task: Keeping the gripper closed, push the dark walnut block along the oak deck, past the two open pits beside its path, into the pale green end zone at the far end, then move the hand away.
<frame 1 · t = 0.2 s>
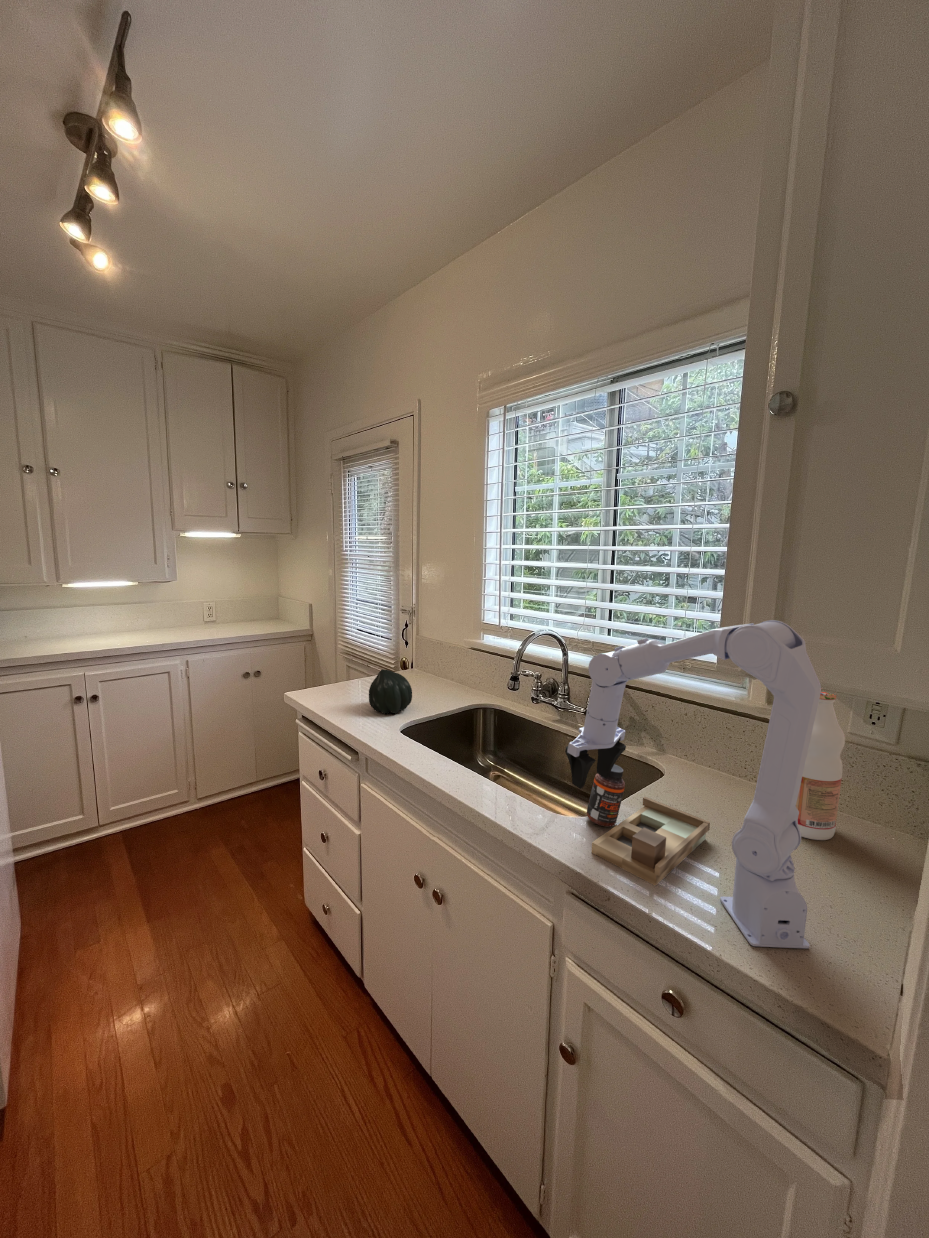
hand: (590, 780, 94), 10 cm above the countertop, tool pointing down, fingers open, 7 cm apart
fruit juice: (805, 828, 98), on the countertop
deck: (649, 845, 91), on the countertop
squash: (390, 711, 167), on the countertop
supplement bottle: (600, 820, 99), on the countertop
walnut block: (647, 858, 84), point 2 cm above the countertop, touching deck
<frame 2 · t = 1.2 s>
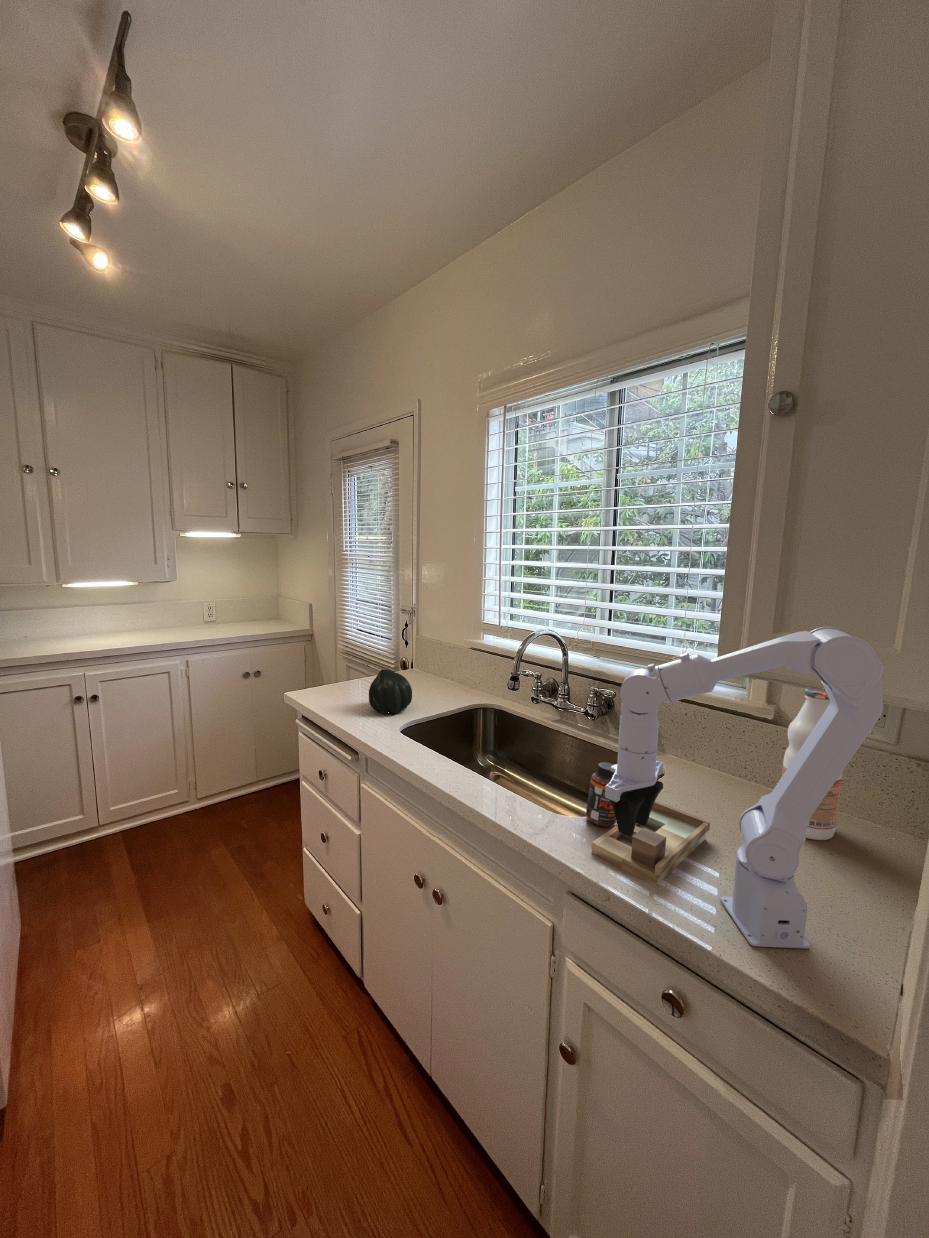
hand: (632, 827, 79), 10 cm above the countertop, tool pointing down, fingers open, 4 cm apart
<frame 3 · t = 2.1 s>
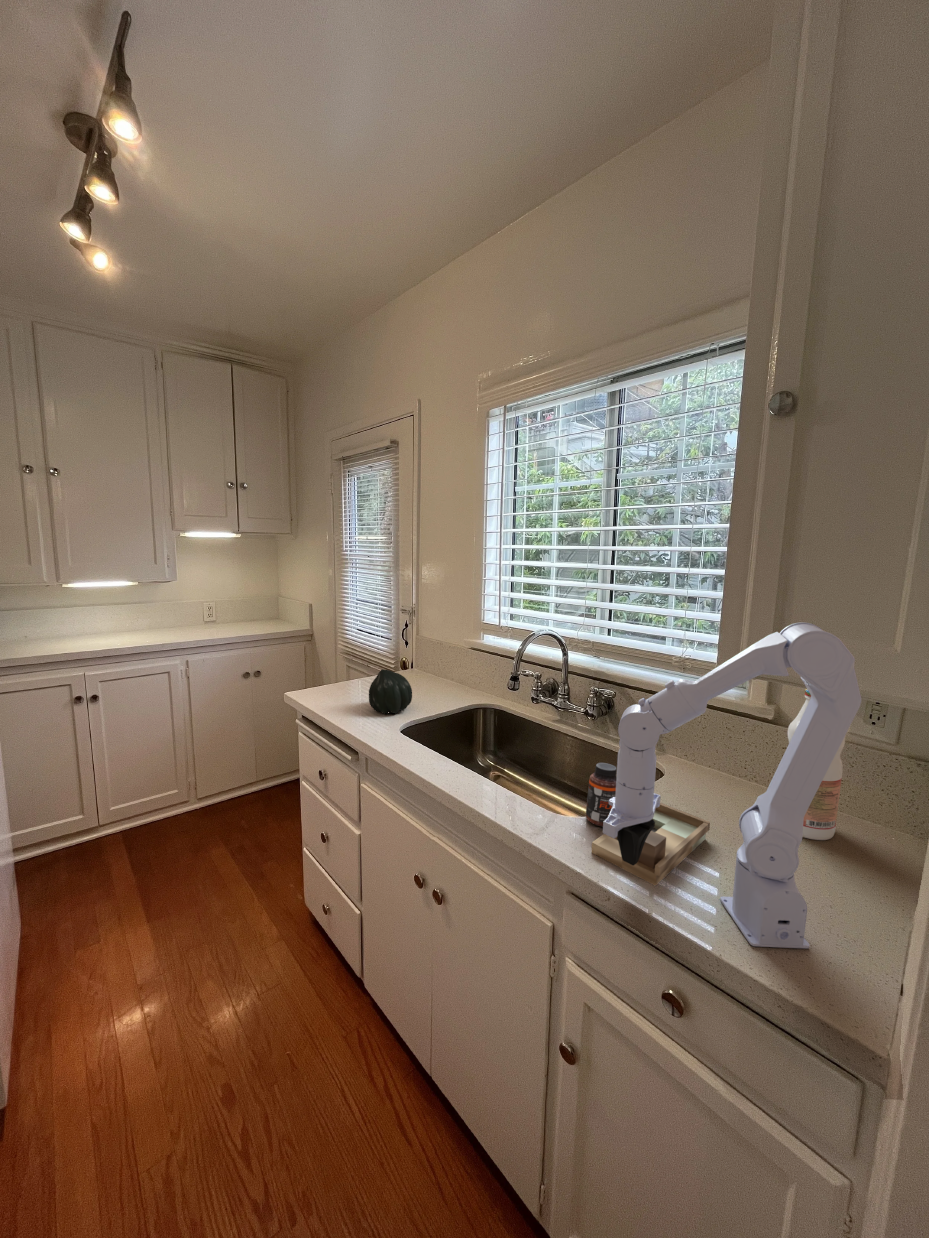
hand: (629, 861, 80), 4 cm above the countertop, tool pointing down, fingers closed
nothing on the countertop moved.
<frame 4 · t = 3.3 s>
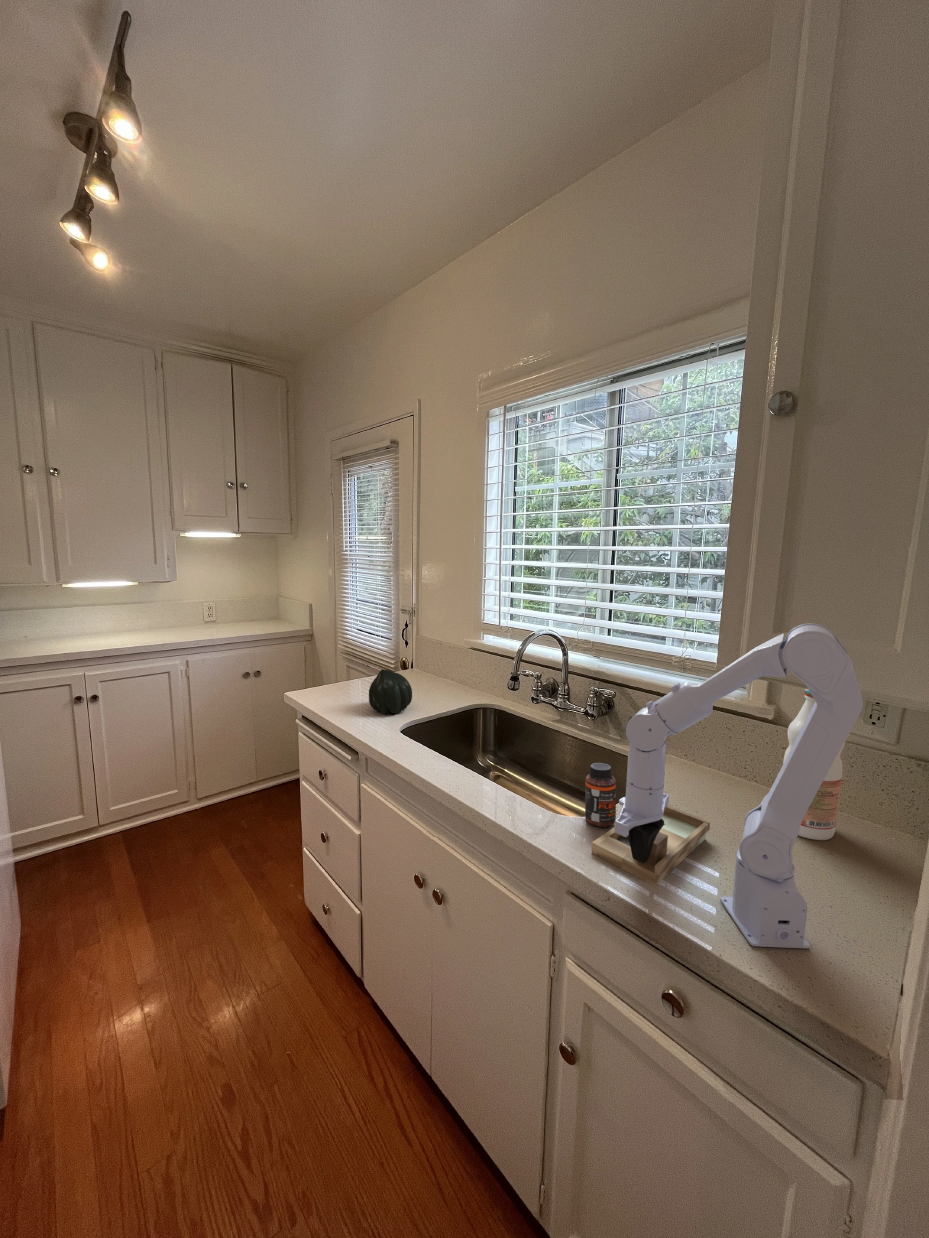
hand: (639, 859, 82), 3 cm above the countertop, tool pointing down, fingers closed
walnut block: (649, 856, 85), point 2 cm above the countertop, touching gripper
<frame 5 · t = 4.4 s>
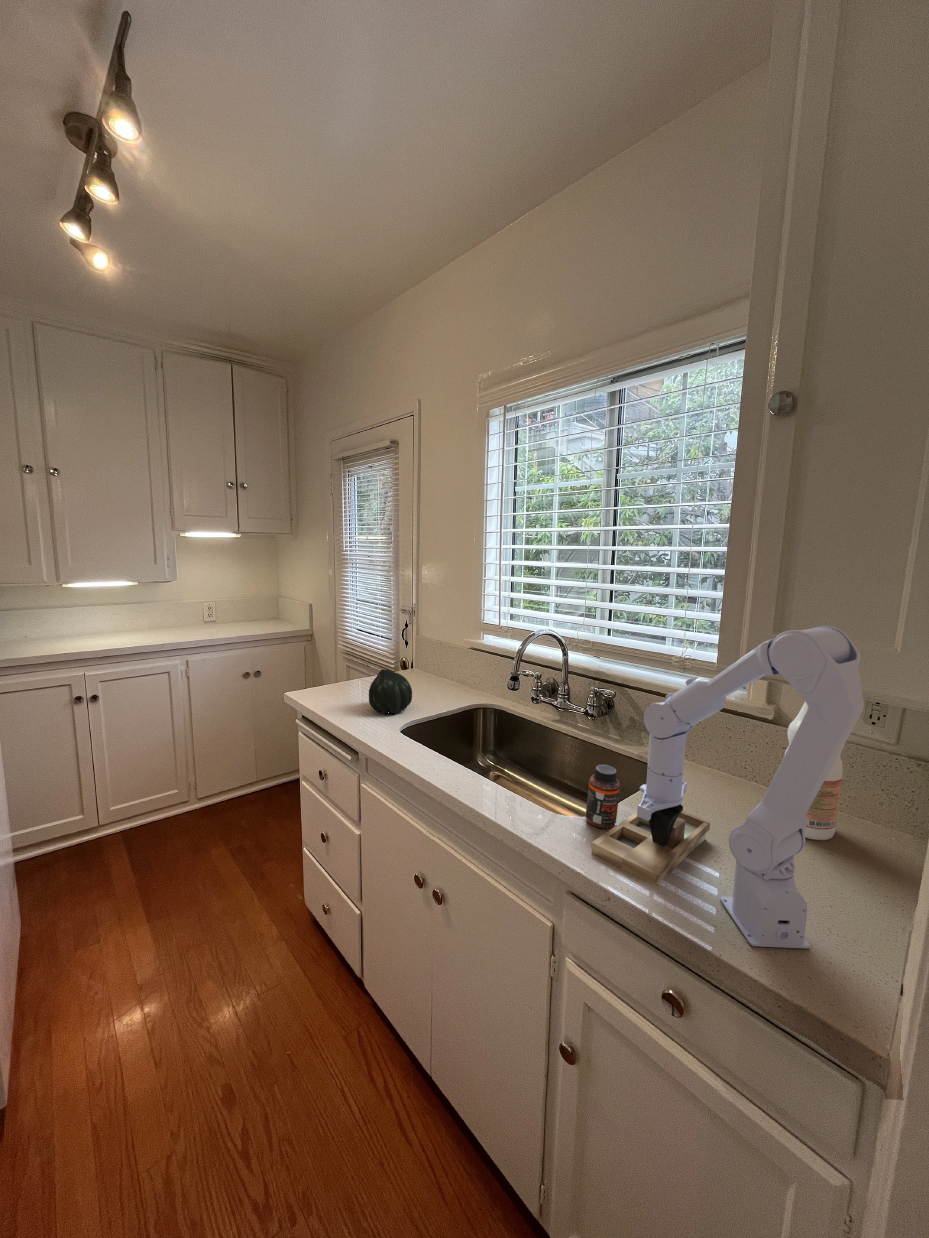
hand: (659, 842, 87), 3 cm above the countertop, tool pointing down, fingers closed
walnut block: (667, 840, 90), point 2 cm above the countertop, touching deck, gripper
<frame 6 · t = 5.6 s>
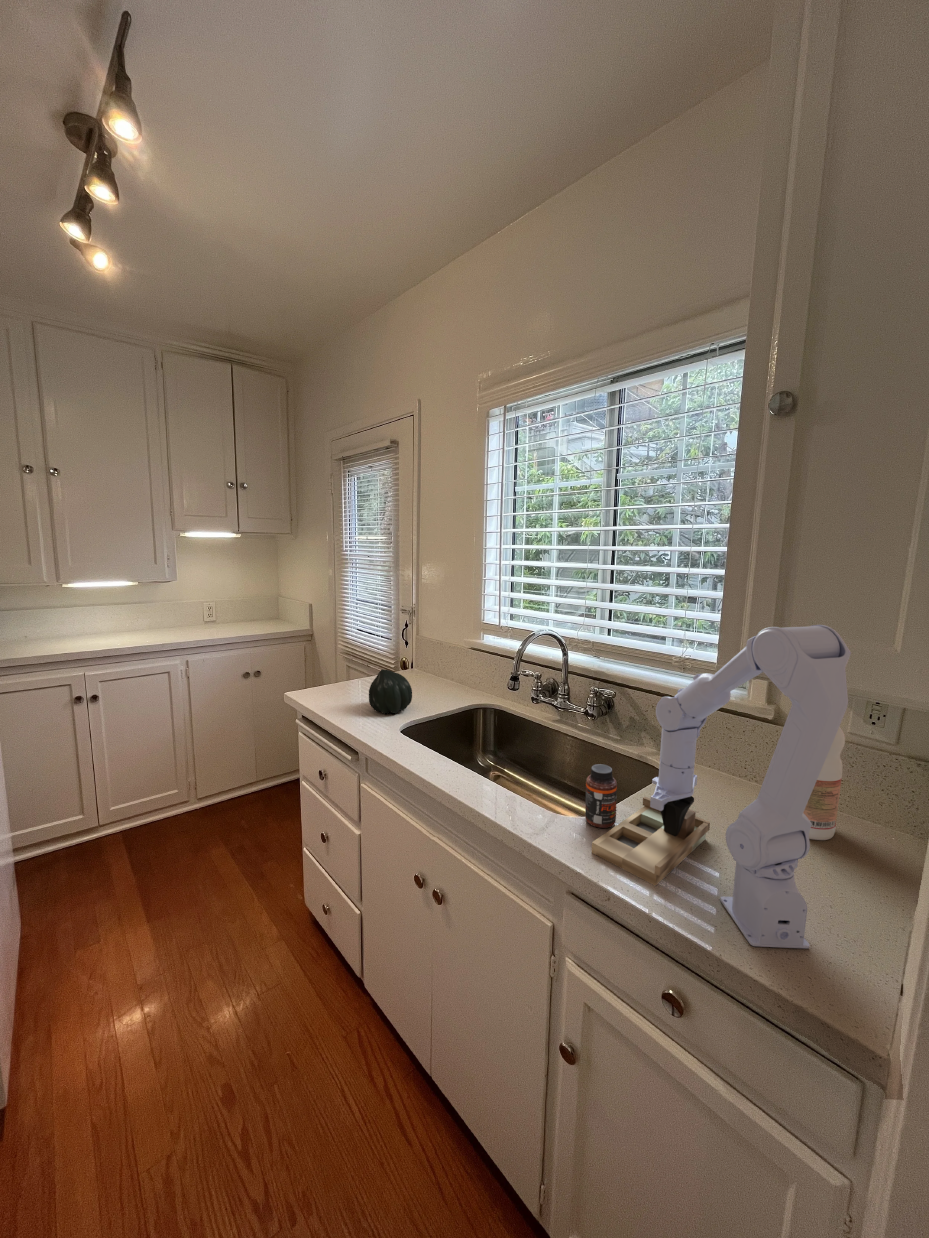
hand: (671, 833, 90), 3 cm above the countertop, tool pointing down, fingers closed
walnut block: (678, 831, 93), point 2 cm above the countertop, touching deck, gripper
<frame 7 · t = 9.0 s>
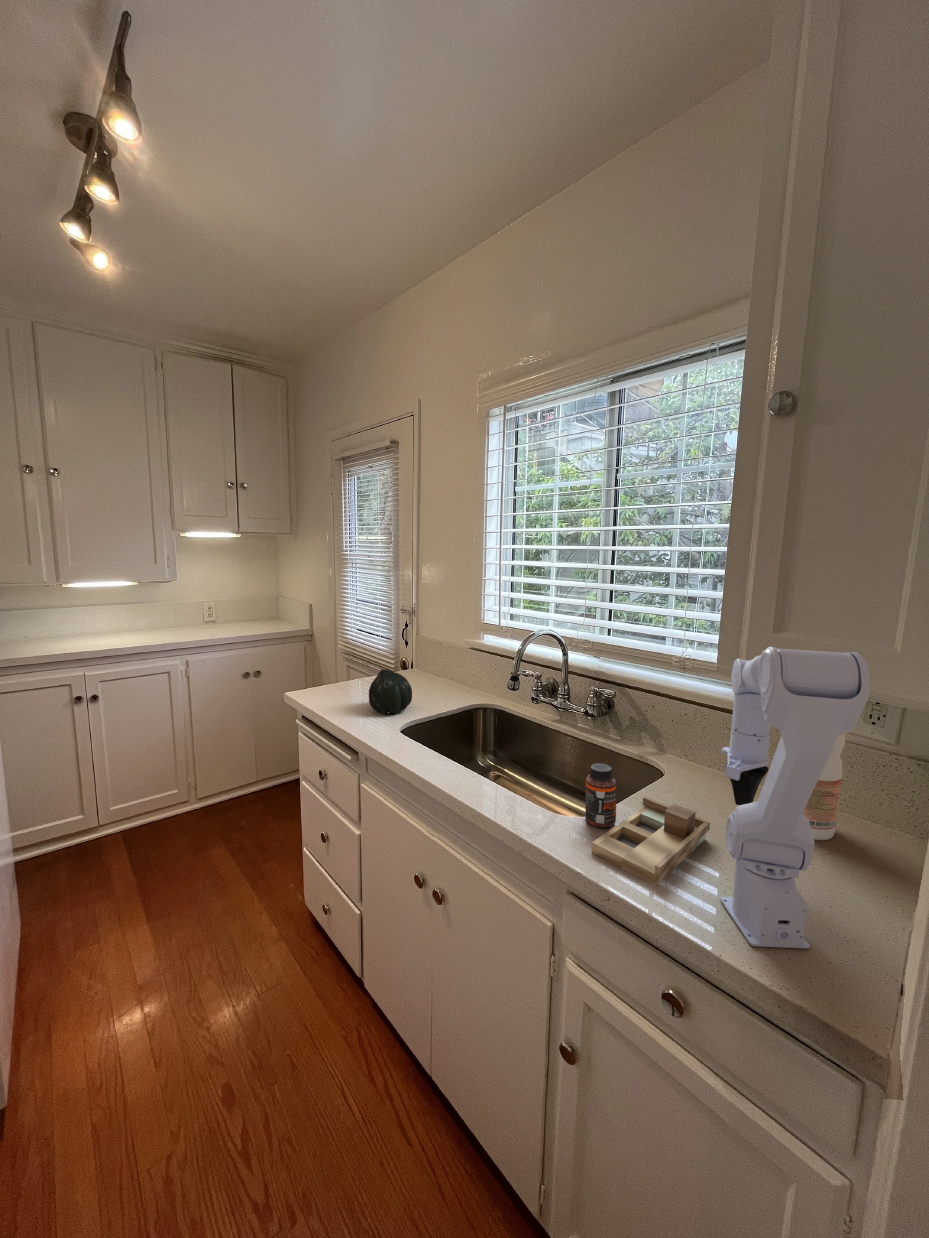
hand: (743, 805, 86), 10 cm above the countertop, tool pointing down, fingers closed
walnut block: (678, 831, 93), point 2 cm above the countertop, touching deck
at the end: walnut block inside the target area (1.9 cm from its centre), point 2.0 cm above the countertop; walnut block tilted 0° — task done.
